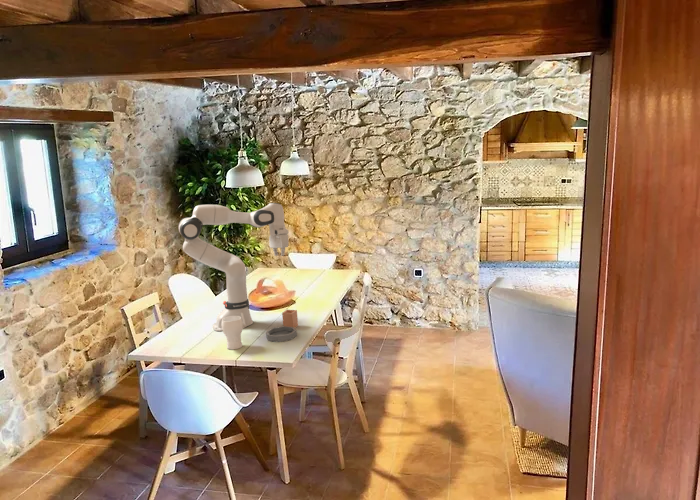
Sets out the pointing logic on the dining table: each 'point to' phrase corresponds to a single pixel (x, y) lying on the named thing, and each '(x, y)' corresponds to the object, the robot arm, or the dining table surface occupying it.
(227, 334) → the cup
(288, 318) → the pot
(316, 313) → the dining table surface
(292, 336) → the dish
